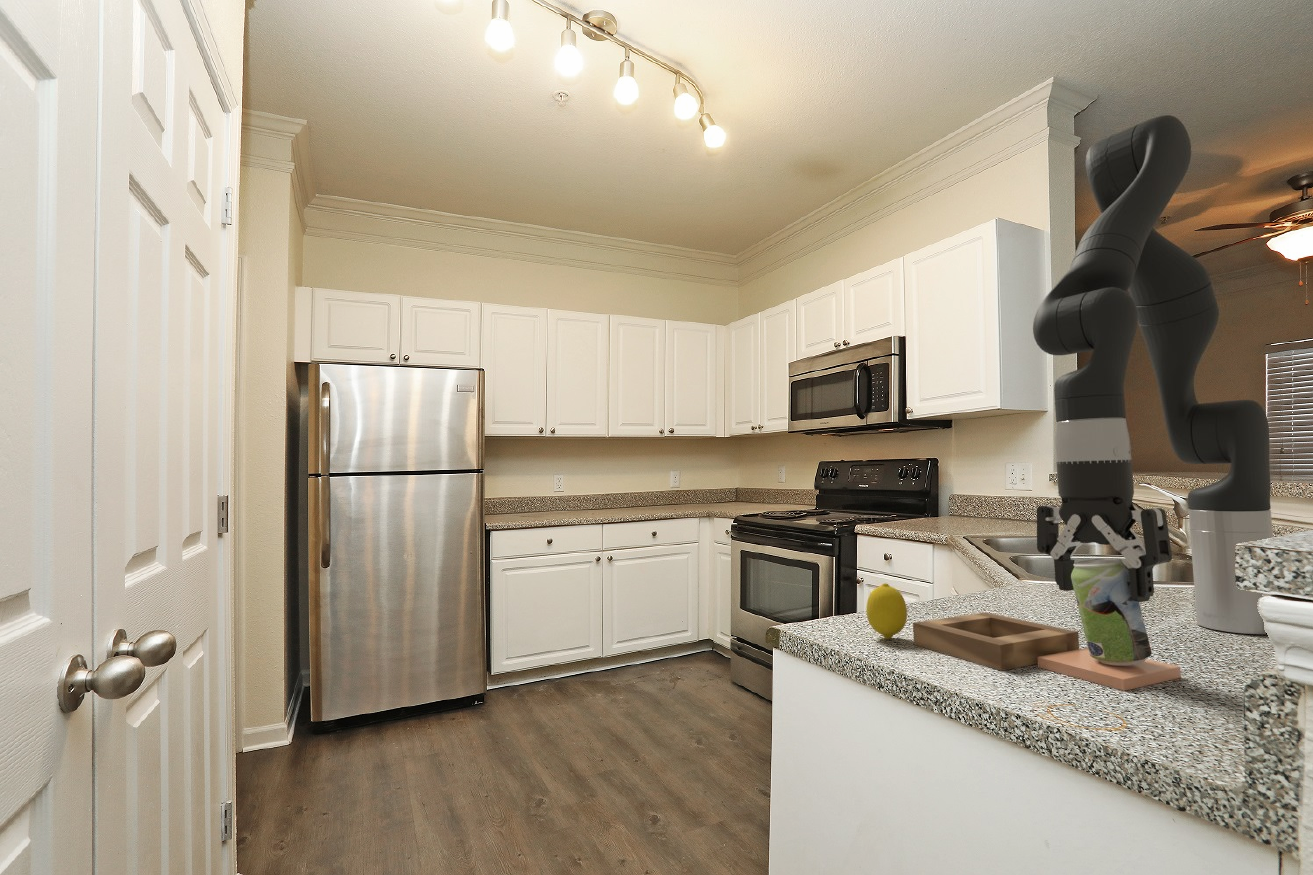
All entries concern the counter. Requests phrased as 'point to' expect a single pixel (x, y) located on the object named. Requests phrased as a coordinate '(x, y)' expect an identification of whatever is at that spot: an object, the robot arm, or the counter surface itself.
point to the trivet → (1108, 670)
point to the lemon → (886, 610)
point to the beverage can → (1110, 612)
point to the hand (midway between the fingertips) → (1102, 595)
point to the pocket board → (994, 639)
